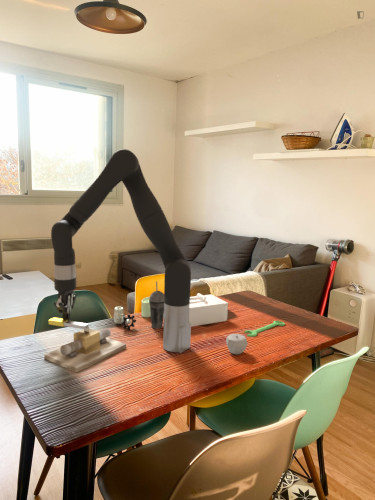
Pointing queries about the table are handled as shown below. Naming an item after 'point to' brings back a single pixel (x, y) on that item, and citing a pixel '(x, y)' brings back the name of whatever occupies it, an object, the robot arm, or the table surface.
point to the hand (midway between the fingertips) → (66, 322)
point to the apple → (236, 343)
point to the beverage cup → (156, 308)
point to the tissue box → (207, 310)
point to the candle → (146, 307)
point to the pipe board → (85, 358)
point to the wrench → (263, 328)
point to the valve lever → (69, 324)
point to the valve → (123, 318)
